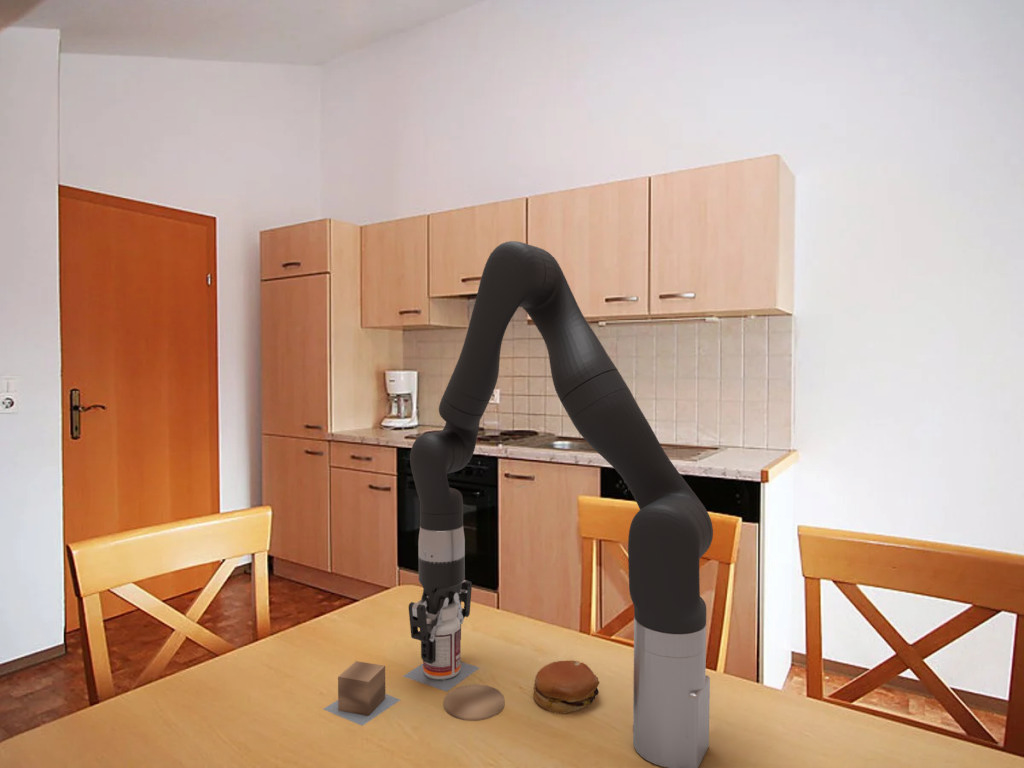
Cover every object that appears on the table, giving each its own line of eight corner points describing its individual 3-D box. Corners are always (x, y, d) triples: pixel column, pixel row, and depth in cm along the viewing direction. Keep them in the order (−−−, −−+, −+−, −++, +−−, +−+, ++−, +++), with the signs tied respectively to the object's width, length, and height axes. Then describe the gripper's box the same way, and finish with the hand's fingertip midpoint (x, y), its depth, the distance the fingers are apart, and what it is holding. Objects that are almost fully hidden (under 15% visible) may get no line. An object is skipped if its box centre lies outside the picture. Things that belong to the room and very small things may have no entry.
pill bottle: (447, 659, 108) (447, 594, 108) (468, 673, 103) (467, 604, 103) (415, 670, 104) (415, 602, 104) (436, 685, 99) (435, 614, 99)
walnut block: (385, 698, 96) (385, 665, 95) (368, 715, 91) (368, 681, 91) (356, 693, 97) (355, 661, 97) (338, 710, 92) (338, 676, 92)
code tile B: (400, 700, 95) (400, 699, 95) (362, 726, 88) (362, 725, 88) (362, 685, 99) (362, 685, 99) (322, 709, 93) (322, 708, 93)
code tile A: (479, 668, 105) (479, 667, 105) (446, 692, 98) (446, 691, 98) (437, 654, 110) (437, 654, 110) (402, 676, 102) (402, 676, 102)
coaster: (515, 698, 96) (515, 694, 96) (481, 728, 88) (481, 723, 88) (467, 682, 100) (467, 678, 100) (431, 709, 93) (431, 705, 93)
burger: (527, 710, 93) (528, 679, 92) (541, 680, 102) (541, 651, 102) (595, 721, 90) (595, 689, 90) (602, 688, 99) (602, 659, 99)
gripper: (431, 569, 95) (432, 678, 96) (485, 545, 107) (485, 642, 108) (394, 560, 99) (394, 665, 100) (450, 538, 111) (450, 632, 112)
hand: (441, 653), depth 104 cm, fingers closed on pill bottle, 6 cm apart
